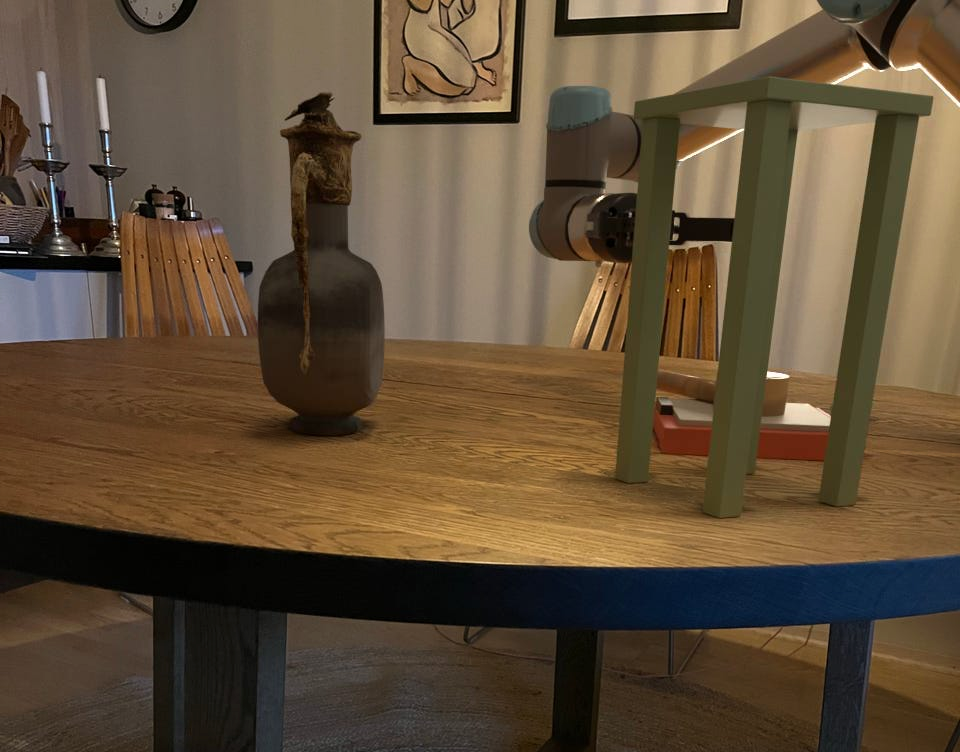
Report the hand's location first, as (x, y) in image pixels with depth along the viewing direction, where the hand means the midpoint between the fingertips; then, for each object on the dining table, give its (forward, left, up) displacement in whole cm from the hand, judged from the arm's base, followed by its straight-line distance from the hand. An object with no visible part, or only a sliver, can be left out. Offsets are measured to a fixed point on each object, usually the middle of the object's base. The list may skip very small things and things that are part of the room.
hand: (727, 227), depth 103 cm
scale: (-3, +6, -20) cm, 21 cm away
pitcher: (+39, +12, -20) cm, 45 cm away
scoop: (0, 0, -17) cm, 17 cm away
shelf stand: (+2, +30, -20) cm, 36 cm away
